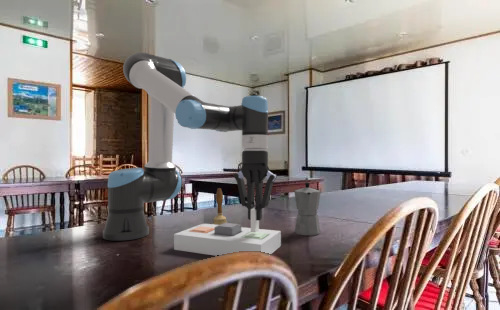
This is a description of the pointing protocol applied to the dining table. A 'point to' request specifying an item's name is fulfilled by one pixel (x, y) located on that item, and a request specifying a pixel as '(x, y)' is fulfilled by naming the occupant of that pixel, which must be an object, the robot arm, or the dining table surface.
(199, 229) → the terracotta key
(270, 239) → the white button panel
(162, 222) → the dining table surface
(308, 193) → the coffeepot
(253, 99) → the robot arm
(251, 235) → the sage key
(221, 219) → the hand bell
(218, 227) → the charcoal key
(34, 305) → the dining table surface
